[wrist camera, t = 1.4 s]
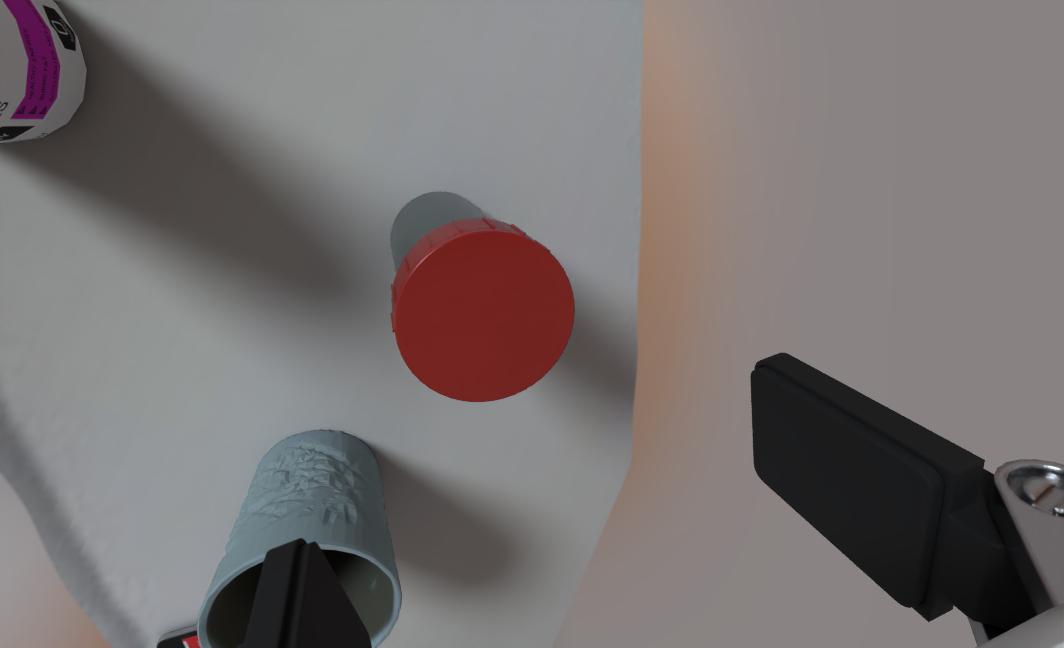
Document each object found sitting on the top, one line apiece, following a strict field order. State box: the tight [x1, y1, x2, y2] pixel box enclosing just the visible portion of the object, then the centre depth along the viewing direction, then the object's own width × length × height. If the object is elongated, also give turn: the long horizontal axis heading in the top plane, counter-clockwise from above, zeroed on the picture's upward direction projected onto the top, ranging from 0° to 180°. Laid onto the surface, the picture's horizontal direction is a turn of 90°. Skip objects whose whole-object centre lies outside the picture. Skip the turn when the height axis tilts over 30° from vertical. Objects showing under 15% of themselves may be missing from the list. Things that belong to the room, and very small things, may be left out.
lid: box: [391, 217, 574, 402], centre depth 21 cm, size 8×8×3 cm
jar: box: [390, 192, 491, 274], centre depth 27 cm, size 7×7×14 cm
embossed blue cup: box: [197, 430, 402, 648], centre depth 32 cm, size 10×10×12 cm
